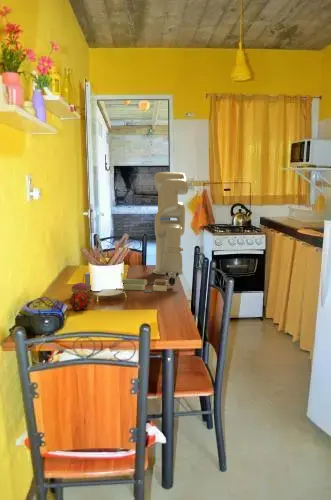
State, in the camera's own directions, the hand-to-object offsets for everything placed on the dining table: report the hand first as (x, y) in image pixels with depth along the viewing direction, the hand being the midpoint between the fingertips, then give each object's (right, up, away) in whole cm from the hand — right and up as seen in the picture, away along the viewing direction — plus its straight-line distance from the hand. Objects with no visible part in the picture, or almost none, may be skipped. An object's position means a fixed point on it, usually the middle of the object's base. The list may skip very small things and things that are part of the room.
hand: (171, 285), depth 217 cm
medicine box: (-39, -2, -8) cm, 40 cm away
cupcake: (-43, -4, -21) cm, 48 cm away
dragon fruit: (-40, -7, -38) cm, 56 cm away
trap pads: (-11, -1, +1) cm, 12 cm away
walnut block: (-6, -2, +1) cm, 6 cm away
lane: (-15, -1, +1) cm, 15 cm away
